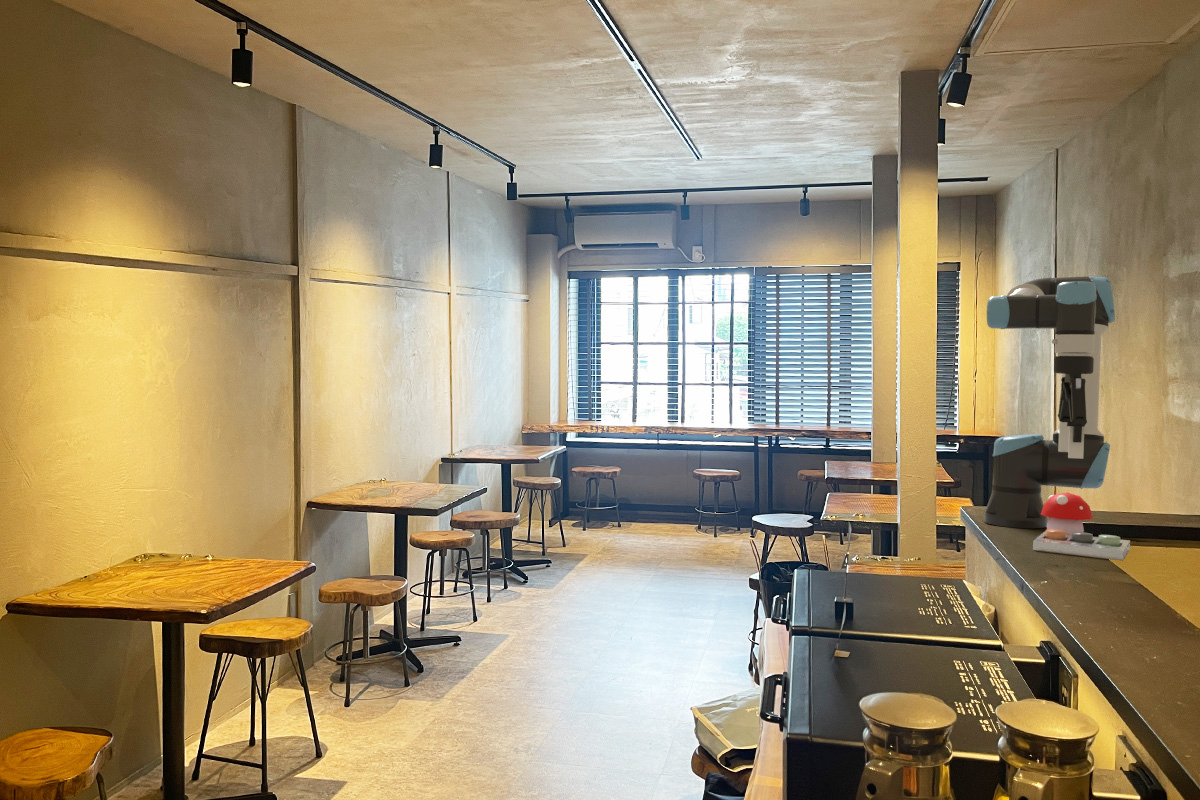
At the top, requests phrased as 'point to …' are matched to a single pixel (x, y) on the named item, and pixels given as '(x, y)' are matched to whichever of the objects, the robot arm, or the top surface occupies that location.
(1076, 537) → the button charcoal
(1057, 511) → the mushroom
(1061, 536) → the button terracotta
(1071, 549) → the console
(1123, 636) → the top surface
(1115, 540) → the button sage
